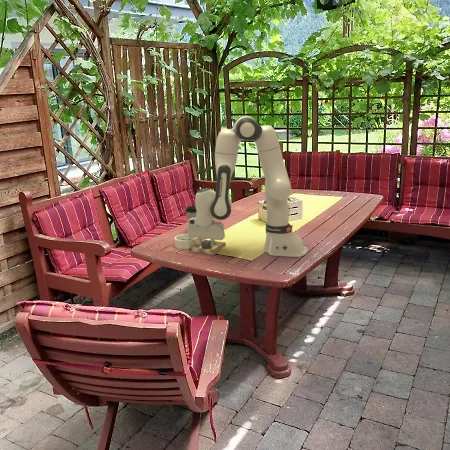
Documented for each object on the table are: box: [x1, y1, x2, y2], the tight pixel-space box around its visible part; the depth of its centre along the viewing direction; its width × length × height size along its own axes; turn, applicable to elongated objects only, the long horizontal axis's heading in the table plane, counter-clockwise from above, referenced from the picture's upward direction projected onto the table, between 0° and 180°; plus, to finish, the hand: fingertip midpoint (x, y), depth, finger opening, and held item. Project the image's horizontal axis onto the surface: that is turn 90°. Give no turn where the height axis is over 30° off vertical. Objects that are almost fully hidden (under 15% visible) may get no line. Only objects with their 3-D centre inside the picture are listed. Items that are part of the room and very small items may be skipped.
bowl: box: [174, 233, 199, 250], centre depth 252 cm, size 12×12×6 cm
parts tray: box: [190, 239, 227, 255], centre depth 246 cm, size 13×14×3 cm
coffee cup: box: [185, 205, 197, 221], centre depth 276 cm, size 9×9×15 cm
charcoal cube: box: [201, 239, 212, 249], centre depth 243 cm, size 4×4×4 cm
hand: (206, 246), depth 243 cm, fingers closed on charcoal cube, 4 cm apart
